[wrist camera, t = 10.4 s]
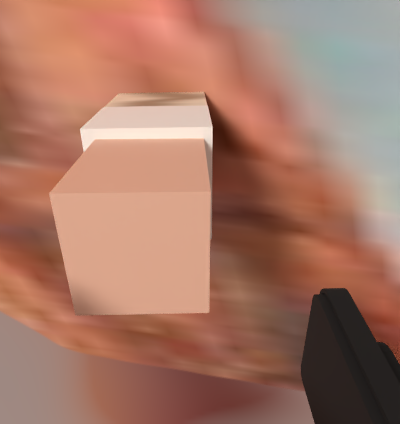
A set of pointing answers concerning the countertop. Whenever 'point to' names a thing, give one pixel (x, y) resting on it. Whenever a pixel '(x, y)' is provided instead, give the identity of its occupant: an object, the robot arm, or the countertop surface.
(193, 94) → the base block
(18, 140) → the countertop surface
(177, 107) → the middle block
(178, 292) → the top block
